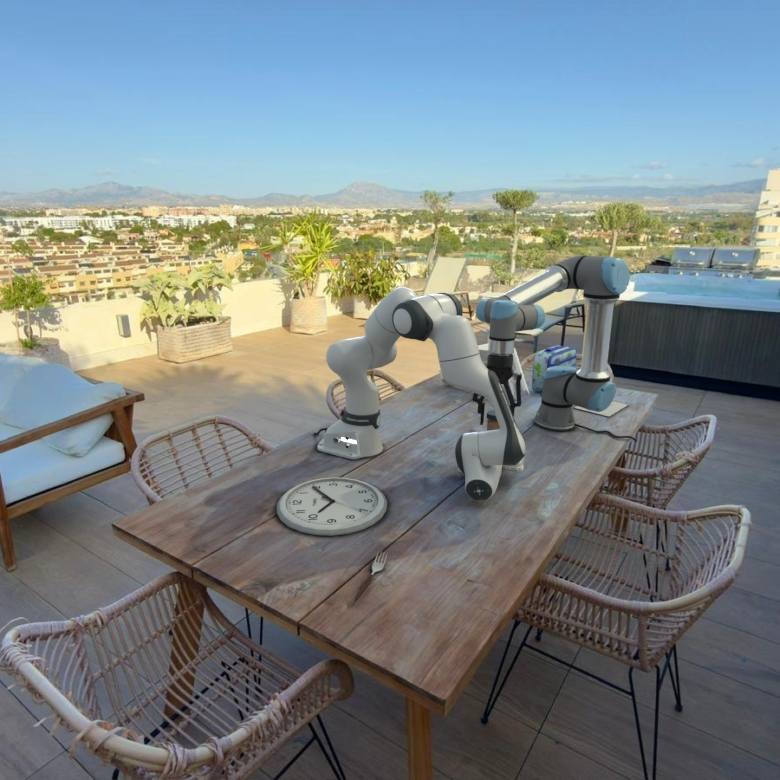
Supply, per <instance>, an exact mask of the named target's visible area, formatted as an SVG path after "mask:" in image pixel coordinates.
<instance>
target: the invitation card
mask: <svg viewBox="0 0 780 780" xmlns="http://www.w3.org/2000/svg"><path fill="white" fill-rule="evenodd" d="M628 406H629V404H627V403H623V402H618V401H614V400H613V401H612V403H611V404H610V405H609V406H608V408H606V409H605V410H603V411H601V412H596V411H592V410H588V409H585V408H582V407H579V406H576V405H575V406H574V407H573V409H575V410H581V411H584V412H587V413H593V414H596V415H600V416H604V417H608V418H609V417H611V416H613V415H614V414H616V413H617V412H619V411H621V410H623V409H624V408H626V407H628Z"/></svg>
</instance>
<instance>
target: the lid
mask: <svg viewBox="0 0 780 780" xmlns="http://www.w3.org/2000/svg"><path fill="white" fill-rule="evenodd" d="M486 419H487V420H488V419H489V420H492V421H497V418H496V415H495V413H494V410H493V409H491V410H487V412H486Z"/></svg>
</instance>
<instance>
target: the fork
mask: <svg viewBox="0 0 780 780" xmlns="http://www.w3.org/2000/svg"><path fill="white" fill-rule="evenodd" d="M379 552H380V550H378V551H377V554H376V556H375V559H374V561H373V563H372V565H371V570H372V572H371V574H369V576H368V577H366V579H365V581H364V582H362V585H361V587H360V589H359V592H358V593H357V596H356V598H355V599H354V602H355V603H356V602H357V601H358V600H359V599H360V597H361V595H362V594H363V593H364V592H365V591H366V590H367V588H368V587H369V585H370V583H371V581H372V579H373V576H374V574H375V573H377V572H381V571H382V570H383V569H384V567H385V564H386V561H387V556H388V554H386V555H385V552H383V551H382V550H381V552H380V553H379ZM382 552H383V554H382ZM378 555H379V556H378ZM384 555H385V557H384Z"/></svg>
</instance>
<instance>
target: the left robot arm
mask: <svg viewBox="0 0 780 780" xmlns="http://www.w3.org/2000/svg"><path fill="white" fill-rule="evenodd" d="M463 313H464V312H463V304H462V302H461V300H460V299H459V298H458V297H457V296H456V295H454V294H452V293H449V292H439V293H431V294H425V295H422V296H418V294H417V293H416V292H415V291H414V290H412V289H411V288H408V287H405V286H399V287H396V288H394V289H393V290H391V292H389V293H388V294H387V295H386V296H385V297H383V299H381V301H379V303H378V304H377V306H376V307H375V308H374V310H373V311H372V312H371V314H369V316H368V317H367V319H366V321H365V323H364V328H363V329H364V334H363V335H361V336H358V337H357V336H356V337H350V338H344V339H341V340H337V341H335V342H334V343H331V344H330V345H329V346H328V347H327V350H326V354H325V361H326V364H327V366H328V368H329V369H330V371H332V372H333V373H334V374H336V375H337V376H338V377H339V379H340V380H341V382H342V384H343V388H344V395H345V406H343V409H341V410H340V412H339V413H338V418H340V419H338V420H336V421H335V422H334V423H333V424H331V425H328V426H325V427H323V428H319V430H318V431H317V432H314V433H313V436H314V435H315V436H318V435H320V433H321V432H323V431H324V436H323V438H322V439H321V440H320V441H319V442H318V444H317V446H316V447H317V451H319V452H322V453H326V454H329V455H333V456H336V457H341V458H345V459H349V460H359V459H361V458H368V457H369V458H370V457H374V456H377V455H379V454H381V453H382V452H383V450H384V446H383V442H382V438H381V430H380V426H381V409H380V389H379V386H378V385H377V384H376V383H375V382H373V381H372V380H369V378H368V374H367V373H368V371H369V370H374V369H379V368H383V367H385V366H387V365H389V364H391V363H393V362H394V361H395V360H396V358H397V354H398V347H397V344H396V343H397V341H398V340H399V339H400V337H402V338H404V339H408V340H414V341H415V340H416V341H419V342H426V341H427V340H428V339H430V340H431V341H432V342H433V343H434V345H435V348H436V352H437V359H438V364H439V369H440V370H441V372H442V375H443V378H444V380H445V381H446V382H447V383H448V384H449V385H448V386H451V387H453V388H455V389H457V390H460V391H463V392H468V393H472V394H474V393H476V394H478V396H481V395H482V396H484V397H485V398H484V399H486V400H487V401H488V402H489V403H490V405H491V407H492V410H494V413H495V415H496V418H497V421H498V423H499V426H500V429H497V430H489V431H487V430H482V431H480V430H478V431H471V432H470V431H469V432H466V433H465V432H464V433H462V434H461V435H460V436H459V438H458V439H457V441H456V444H455V448H454V449H455V450H454V454H455V455H454V456H455V461H456V465H457V466H456V467H457V472H458V473H460V474H463V475H464V490H465V492H466V495H467V496H468V497H469V498H471V499H472V500H474V501H481V502H482V501H487V500H489V499H490V498H492V497H493V496H494V494H495V493H496V491H497V489H498V486H499V483H500V478H501V475H502V472H506V473H512V474H518V473H519V472H524V470H525V466H524V465H525V456H526V443H525V440H524V438H523V435H522V433H521V432H520V429H519V427H518V424H517V422H516V420H515V416H514V417H513V414H512V411H511V409H510V406H509V405H510V403H509V400H508V397H507V394H506V392H505V389H504V387H503V386H502V384H501V383H500V381H499V379H498V377H497V375H496V374H495V372H494V371H491V370H488V369H487V368H486V366H485V365H484V364H483V362H482V360H481V357H480V353H479V348H478V341H477V337H476V334H475V331H474V329H473V326H472V323H471V322H470V320H469V319H468V318H467V317H465V316H463Z"/></svg>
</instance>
